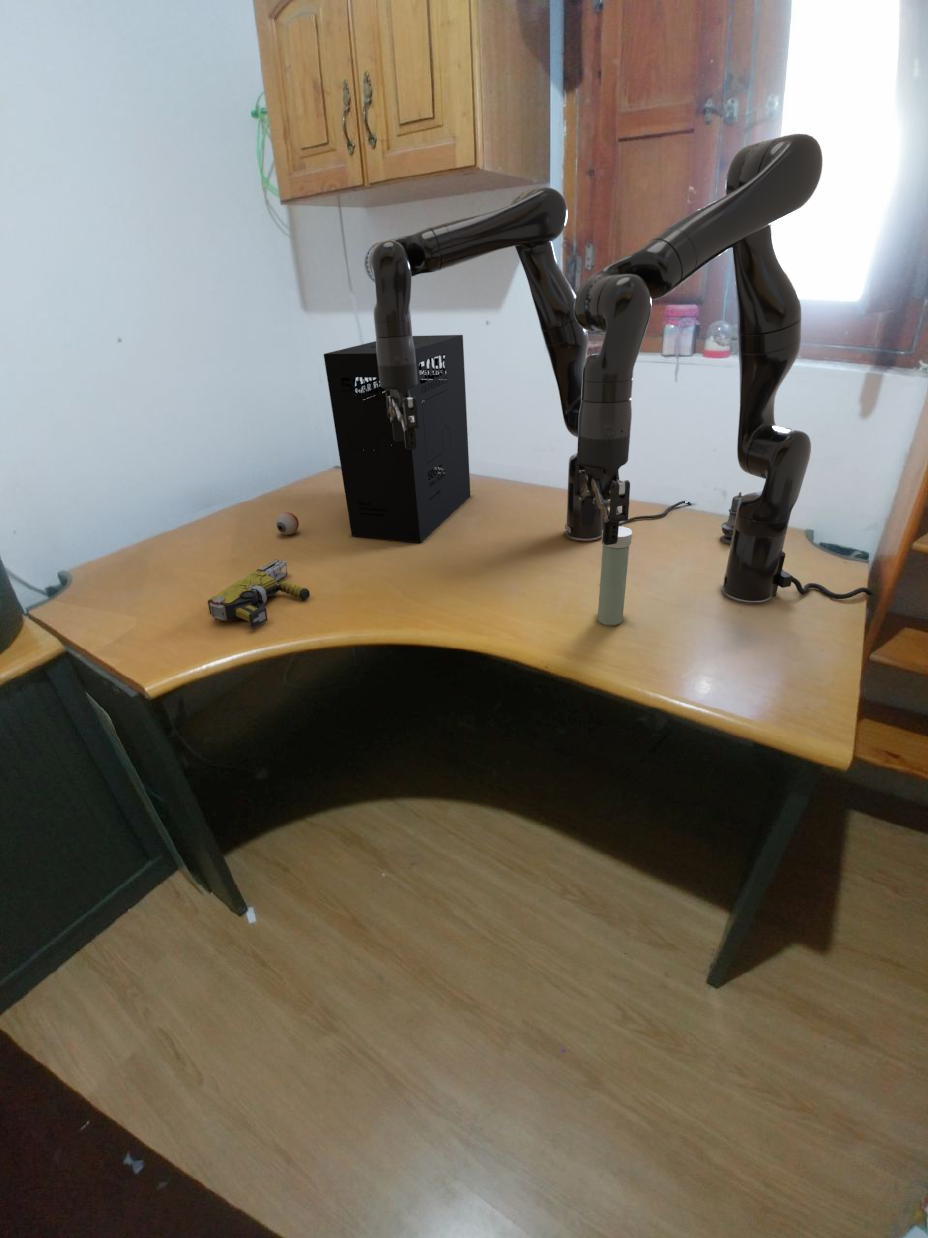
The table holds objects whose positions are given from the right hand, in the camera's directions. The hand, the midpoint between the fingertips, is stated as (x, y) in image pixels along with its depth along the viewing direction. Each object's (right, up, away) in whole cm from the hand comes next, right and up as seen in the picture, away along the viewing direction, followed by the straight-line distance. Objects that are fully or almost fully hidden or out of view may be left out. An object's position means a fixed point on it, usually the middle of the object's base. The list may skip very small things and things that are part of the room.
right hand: (597, 533), depth 96 cm
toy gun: (-63, -10, +34) cm, 72 cm away
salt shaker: (+44, +5, +50) cm, 67 cm away
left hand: (-34, +23, +30) cm, 50 cm away
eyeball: (-69, +9, +69) cm, 98 cm away
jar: (+7, -14, +21) cm, 26 cm away
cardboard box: (-36, +16, +77) cm, 86 cm away
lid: (+6, +2, +12) cm, 13 cm away
